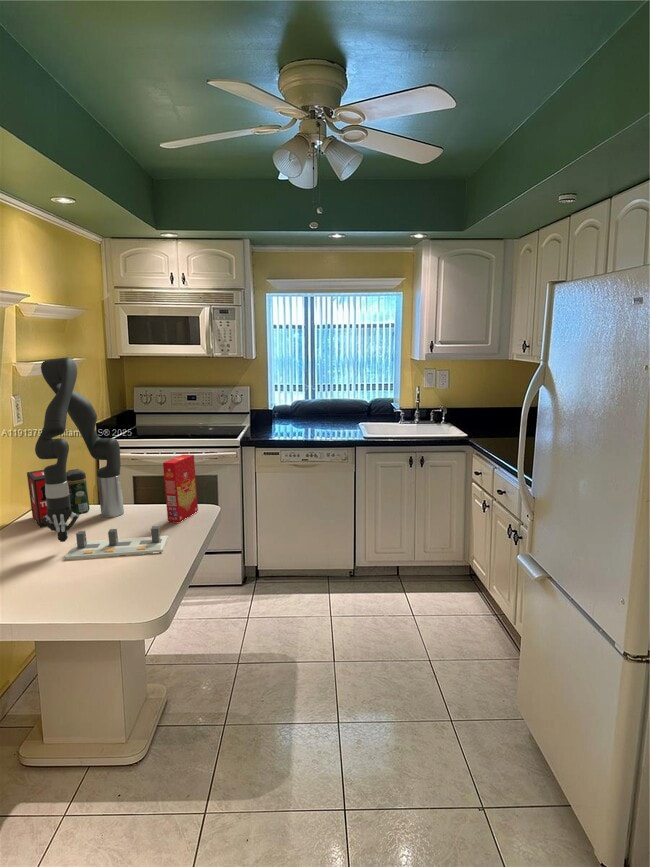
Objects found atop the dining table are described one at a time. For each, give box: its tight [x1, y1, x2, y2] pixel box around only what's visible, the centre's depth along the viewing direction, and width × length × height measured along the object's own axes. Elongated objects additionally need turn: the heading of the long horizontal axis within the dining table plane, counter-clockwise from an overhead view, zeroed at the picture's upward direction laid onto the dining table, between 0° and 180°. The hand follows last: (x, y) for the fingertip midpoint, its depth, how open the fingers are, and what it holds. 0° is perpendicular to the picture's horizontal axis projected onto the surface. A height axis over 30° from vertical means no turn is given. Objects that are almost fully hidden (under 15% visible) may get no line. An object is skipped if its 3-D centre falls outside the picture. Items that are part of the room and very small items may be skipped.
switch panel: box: [64, 535, 169, 561], centre depth 205 cm, size 14×33×2 cm, turn 97°
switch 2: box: [150, 525, 161, 542], centre depth 207 cm, size 3×2×5 cm
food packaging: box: [162, 454, 199, 523], centre depth 236 cm, size 15×5×25 cm, turn 162°
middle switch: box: [107, 528, 119, 545], centre depth 206 cm, size 3×2×5 cm
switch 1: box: [75, 530, 88, 548], centre depth 204 cm, size 3×2×5 cm
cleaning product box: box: [26, 469, 54, 528], centre depth 238 cm, size 16×9×20 cm, turn 36°
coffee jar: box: [66, 468, 90, 514], centre depth 249 cm, size 10×8×19 cm
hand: (63, 541), depth 204 cm, fingers closed
